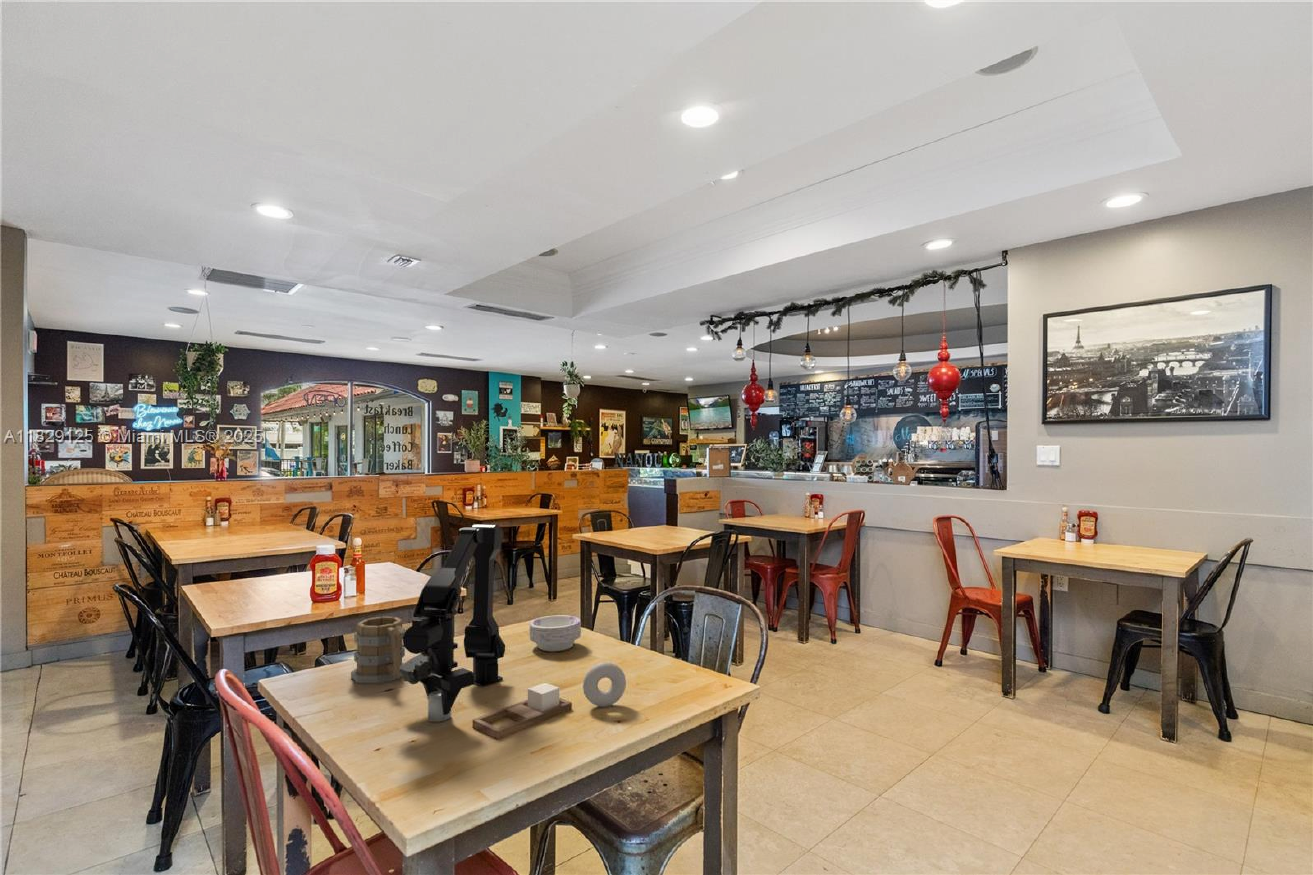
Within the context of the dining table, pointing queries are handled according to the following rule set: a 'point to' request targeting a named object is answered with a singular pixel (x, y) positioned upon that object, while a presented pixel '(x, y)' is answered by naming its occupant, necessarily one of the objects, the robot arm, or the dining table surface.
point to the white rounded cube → (543, 697)
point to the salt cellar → (436, 707)
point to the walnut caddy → (518, 717)
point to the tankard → (378, 650)
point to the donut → (612, 693)
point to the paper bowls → (555, 632)
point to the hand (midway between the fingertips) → (439, 711)
